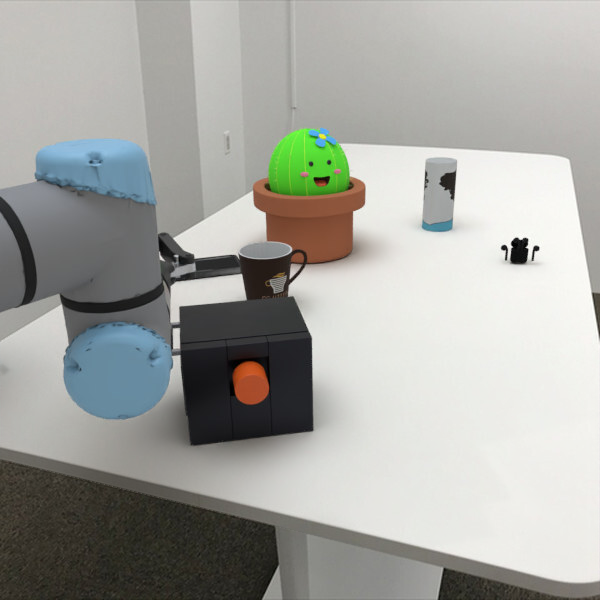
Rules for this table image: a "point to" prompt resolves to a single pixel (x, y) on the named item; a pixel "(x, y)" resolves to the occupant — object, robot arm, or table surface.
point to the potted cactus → (310, 196)
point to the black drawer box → (238, 349)
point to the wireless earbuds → (519, 250)
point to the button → (250, 382)
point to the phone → (216, 266)
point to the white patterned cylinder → (439, 194)
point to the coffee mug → (267, 269)
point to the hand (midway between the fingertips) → (139, 227)
